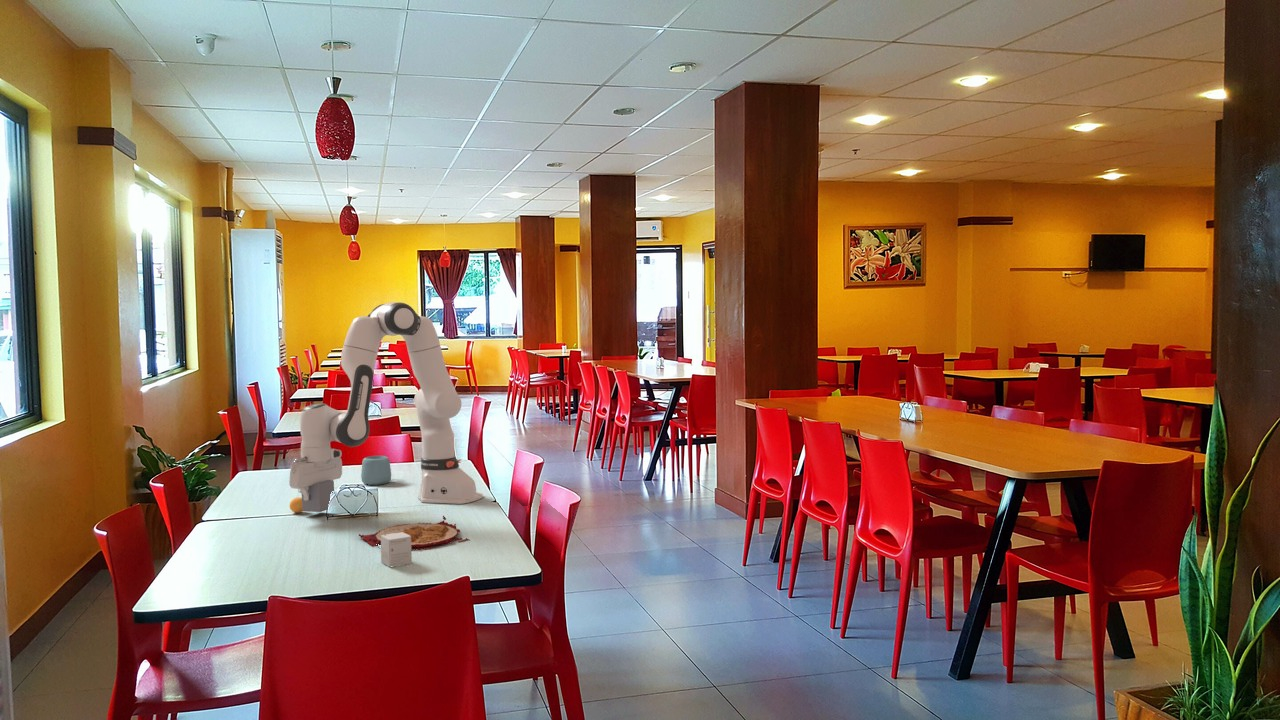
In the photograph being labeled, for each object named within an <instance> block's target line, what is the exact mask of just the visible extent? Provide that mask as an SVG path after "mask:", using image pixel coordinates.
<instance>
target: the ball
mask: <svg viewBox="0 0 1280 720" xmlns="http://www.w3.org/2000/svg"><path fill="white" fill-rule="evenodd" d="M289 508H290V510H291V511H292V512H293V513H295V514H299V513H302V512H304V511H303V509H302V497H301V496H297V497H294V498H293V499H291V501H290V503H289Z"/></svg>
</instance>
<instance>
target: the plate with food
mask: <svg viewBox="0 0 1280 720" xmlns="http://www.w3.org/2000/svg"><path fill="white" fill-rule="evenodd" d="M442 519H443V520H441V521H439V522H437V523H431V522H422V523H421V522H418V523H407V524H406V523H405V524H397V525H394V526H389V527H387V528H384V529H381V530H378V531H376V533H372V534H366V535H365V534H360V533H358V537H360V539H363V541H366V543H367V544H368V545H370V546H372V547H378V544H379V545H381V535H387V534H392V533H400V532H403V533H406V534H408V535H410V536H411V550H414V549H415V550H416V549H418V550H416V551H422V549H423V550H424V551H428V550H429V551H430V550H431V549H432V548H436V547H440V546H444V545H448V543H449V544H451V543H453V542H456V541H457V543H463V542H464V541H471V539H469V538H466V537H465V539H463V538H462V537H457V536H459V533H461V530H460V529H458V528H457V524H456V523H454V524H452V523H451V524H450V523H448V522H445V521H446V520H447V518H446V517H445V515H442ZM452 541H453V542H452ZM450 542H451V543H450ZM376 544H377V545H376ZM431 547H432V548H431ZM415 550H414V551H413V552H416V551H415Z"/></svg>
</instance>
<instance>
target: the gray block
mask: <svg viewBox="0 0 1280 720" xmlns="http://www.w3.org/2000/svg"><path fill="white" fill-rule="evenodd" d="M307 491H308V493H309V494H311V500H308V501H306V500H304V497H303V494H302V492H300V493H301V498H302V509H303V511H302V512H309V513H321V512H326V511H328V504H329V501H330V494H331V492H332V491H334V492H335V480H328V481H324V482H320V483H316V484H313V485H312V486H309V490H307ZM332 493H333V492H332Z"/></svg>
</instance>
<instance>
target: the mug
mask: <svg viewBox="0 0 1280 720" xmlns="http://www.w3.org/2000/svg"><path fill="white" fill-rule="evenodd" d="M361 463H362V464H361V473H360V475H361V476H360V478H361V482H362V483H363V484H365V485H367V484H368V486H380V485H385V484H388V483H389V482H390V481H391V479H392V469H391V461H390V457H388V456H385V455H371V456H366V457H364V458H363V459H362V462H361Z"/></svg>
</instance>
